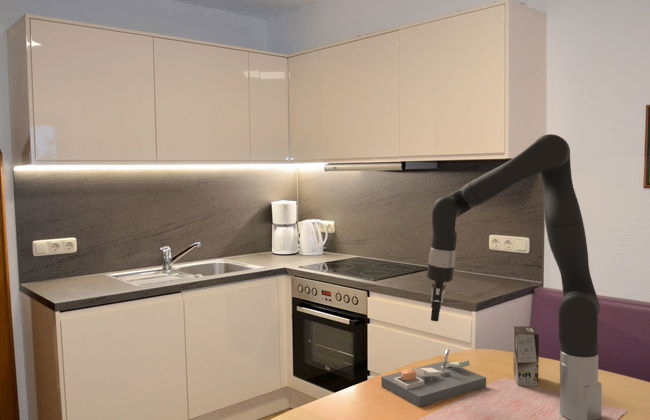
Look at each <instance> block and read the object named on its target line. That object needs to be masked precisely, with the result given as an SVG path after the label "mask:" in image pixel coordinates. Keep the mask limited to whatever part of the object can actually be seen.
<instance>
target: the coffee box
mask: <svg viewBox="0 0 650 420" xmlns="http://www.w3.org/2000/svg"><path fill="white" fill-rule="evenodd" d="M512 329H513V330H512V333H513V342H512V344H513V376H514V380H515V382H516V385H517V386H523V387H524V386H526V387H539V364H540V363H539V360H540V359H539V357H540V355H539V353H540V352H539V351H540V350H539V347H540V346H539V345H540V341H539V340H540V339H539V337H540V334H539V332H538V331H537V330H536V327H534V326H527V325H526V326H525V325H524V326H522V325H521V326H513V328H512Z"/></svg>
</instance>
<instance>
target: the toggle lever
mask: <svg viewBox="0 0 650 420" xmlns="http://www.w3.org/2000/svg"><path fill="white" fill-rule="evenodd" d="M449 355H450V349H449V348H446V349H445V352H444V356H443V360H442V361H443V364H442V367H441V370H443V371H444V370H445V369H446V368H445V367H446V363H447V362H448V357H449Z"/></svg>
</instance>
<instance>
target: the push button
mask: <svg viewBox="0 0 650 420" xmlns="http://www.w3.org/2000/svg"><path fill="white" fill-rule="evenodd" d="M413 369H414V368H405V369H402V370H401V371H400V372H401V379H402V380H405V381H413V380H416V371H415V370H413Z"/></svg>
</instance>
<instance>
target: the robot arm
mask: <svg viewBox="0 0 650 420" xmlns="http://www.w3.org/2000/svg"><path fill="white" fill-rule="evenodd" d="M571 167H572V166H571V149H570V145H569V144H568V142H567V140H565V139H564V138H563V137H561V136H559V135H558V134H545V135H542V136H540V137H538V138H537V140H535V141H534V142H533V143H532V144H530V145H529V146H527V148H526V149H524V150H523V151H522V152H520V153H519V154H517V155H516V156H514V157H512V158H511V159H510V160H508V161H506V162H504V163H502V164H501V165H499V166H497V167H495V168H493V169H490V170H489V171H487V172H485V173H483V174H481V175H480V176H478V177H476V178H475V179H473V180H471V181H469V182H468V183H466V184H464V185H463V186H462V187H461V188H459V189H457V190H455V191H453V192H452V193H450V194H449V193H448V195H445V196H442V197H439V198H437V199H436V201H435V202H434V203H433V206H432V215H431V218H432V219H431V222H432V223H431V225H432V235H431V244H430V250H429V256H428V263H427V270H426V271H427V272H426V277H427V279H429V280H431V281H434V282H433V283H432V284H431V288H430V289H431V291H430V292H431V296H430V297H431V298H430V300H431V306H430V308H431V315H430V320H431V321H432V322H439V319H440V313H441V308H442V306H441V305H442V303H443V302H444V296H445V293H446V287H447V285H446V284H444V283H450V282H452V281H453V279H454V272H455V263H456V245H457V238H458V237H457V231H456V223H457V222H456V220H457V218H458V217H460V216H462V215H463V214H465V213H467V212H468V211H470V210H471V209H473V208H475V207H478V206H480V205H482V204H484V203H486V202H488V201H490V200H491V199H493V198H495V197H497V196H498V195H500V194H502V193H504V192H505V191H506V190H508V189H509V188H511V187H513V186H515V185H516V184H518V183H519V182H521V181H523V180H525V179H527V178H529V177H531V176H534V175H536V174H540V178H541V181H542V187H543V192H544V193H543V194H544V203H543V205H544V222H545V229H546V235H547V241H548V243H549V244H548V245H549V247H550V251H551V252H552V255H553V257H554V261H555V262H556V264H557V267H558V270H559V273H560V278H561V285H562V299H561V302H560V303H559V306H558V342H559V413H560V415H561V416H562V417H563V418H565V419H568V420H600V419H601V418H602V387H603V385H602V382H600V381H599V342H598V340H599V339H598V322H599V321H598V318H599V317H598V316H599V315H600V307H601V306H600V302H599V299H598V296H597V293H596V290H595V286H594V282H593V280H592V276H591V270H590V265H589V252H588V244H587V237H586V230H585V223H584V220H583V216H582V211H581V207H580V204H579V201H578V197H577V194H576V191H575V189H574V184H573V177H572V168H571Z"/></svg>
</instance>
